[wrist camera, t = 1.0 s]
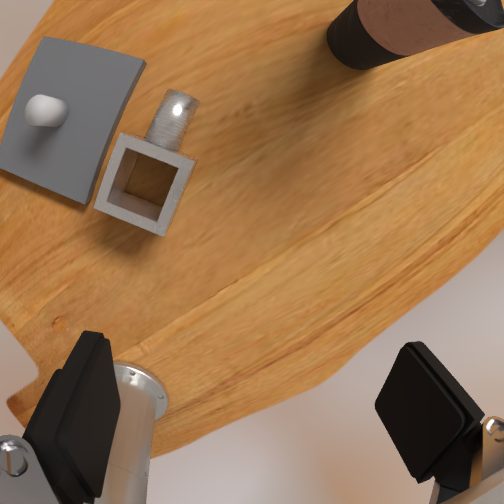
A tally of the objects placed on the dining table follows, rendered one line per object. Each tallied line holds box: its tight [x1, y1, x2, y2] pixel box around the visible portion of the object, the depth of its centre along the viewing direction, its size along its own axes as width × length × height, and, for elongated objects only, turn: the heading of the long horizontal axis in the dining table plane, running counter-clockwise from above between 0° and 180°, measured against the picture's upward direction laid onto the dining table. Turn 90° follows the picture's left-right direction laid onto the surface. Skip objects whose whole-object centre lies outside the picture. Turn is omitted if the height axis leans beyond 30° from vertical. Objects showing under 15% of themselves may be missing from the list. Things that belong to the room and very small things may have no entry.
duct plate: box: [0, 36, 147, 204], centre depth 23 cm, size 16×14×6 cm
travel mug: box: [327, 0, 504, 70], centre depth 18 cm, size 8×8×20 cm
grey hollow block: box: [94, 89, 200, 237], centre depth 26 cm, size 12×7×6 cm, turn 155°
